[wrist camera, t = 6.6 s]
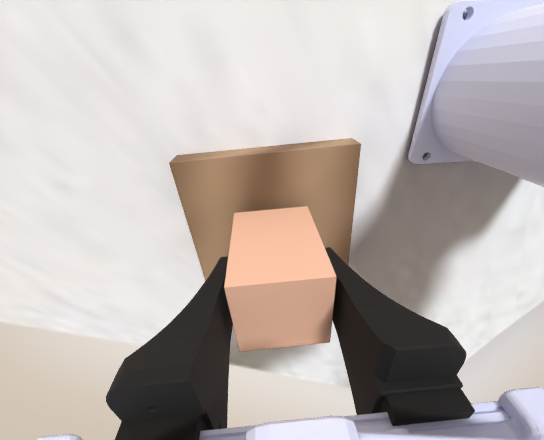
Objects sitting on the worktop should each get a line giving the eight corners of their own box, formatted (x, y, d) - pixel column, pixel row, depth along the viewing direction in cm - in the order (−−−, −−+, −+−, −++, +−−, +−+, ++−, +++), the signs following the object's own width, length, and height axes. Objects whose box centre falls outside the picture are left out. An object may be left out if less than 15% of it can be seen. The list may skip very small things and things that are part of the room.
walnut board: (349, 136, 16) (360, 144, 14) (338, 265, 21) (346, 282, 19) (178, 153, 15) (169, 163, 14) (214, 278, 21) (210, 296, 19)
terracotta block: (307, 206, 15) (336, 276, 10) (306, 261, 17) (329, 342, 12) (234, 212, 15) (224, 287, 10) (243, 267, 17) (239, 351, 12)
